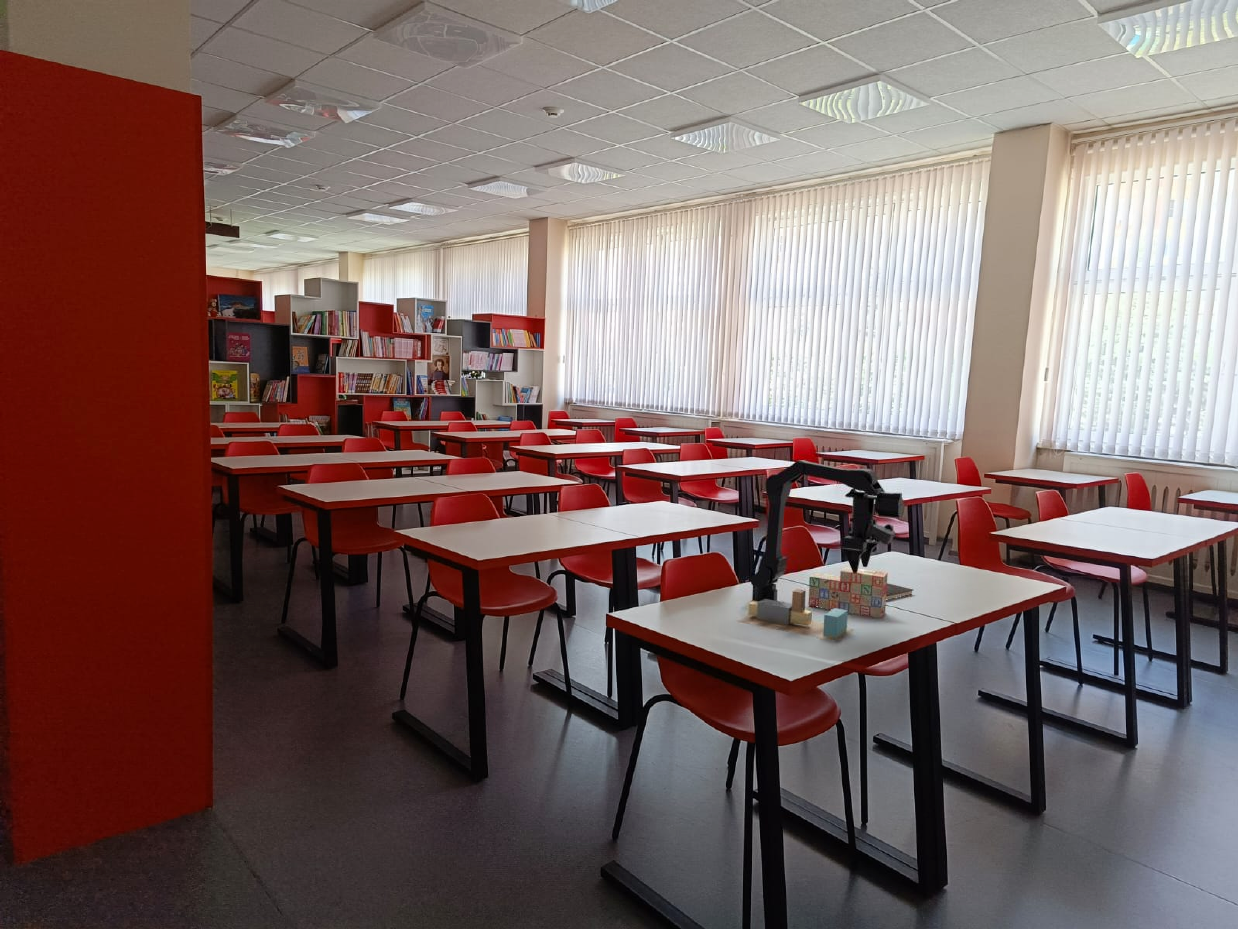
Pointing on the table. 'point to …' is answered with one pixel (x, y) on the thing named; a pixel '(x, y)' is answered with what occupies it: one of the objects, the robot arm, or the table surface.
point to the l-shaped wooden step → (797, 611)
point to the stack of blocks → (850, 591)
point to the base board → (797, 628)
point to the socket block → (835, 622)
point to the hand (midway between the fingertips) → (860, 569)
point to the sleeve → (774, 612)
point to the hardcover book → (897, 591)
